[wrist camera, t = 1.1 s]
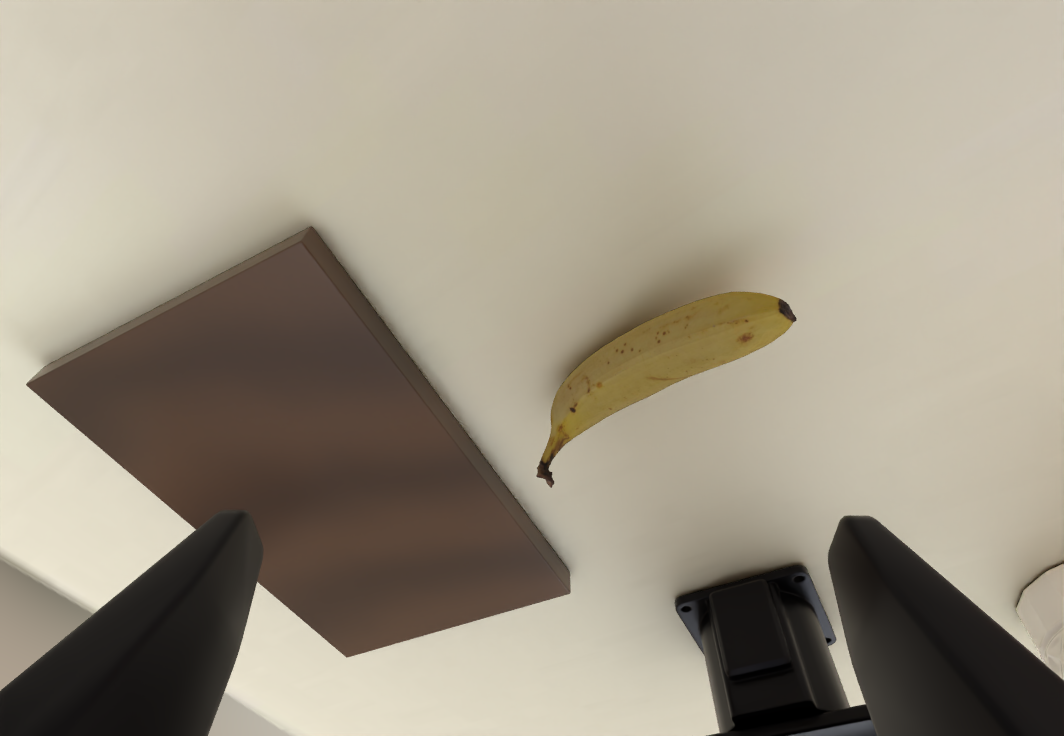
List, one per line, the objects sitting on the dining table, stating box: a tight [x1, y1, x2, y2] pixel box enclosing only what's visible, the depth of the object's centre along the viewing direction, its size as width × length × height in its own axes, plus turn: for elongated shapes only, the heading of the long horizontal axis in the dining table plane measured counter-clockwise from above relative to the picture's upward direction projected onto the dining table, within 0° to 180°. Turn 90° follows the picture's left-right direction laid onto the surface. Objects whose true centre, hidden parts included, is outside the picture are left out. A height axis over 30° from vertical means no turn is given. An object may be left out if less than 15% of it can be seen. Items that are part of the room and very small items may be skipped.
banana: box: [537, 292, 796, 487], centre depth 23 cm, size 10×2×4 cm, turn 134°
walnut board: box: [26, 227, 570, 657], centre depth 28 cm, size 20×13×1 cm, turn 27°
